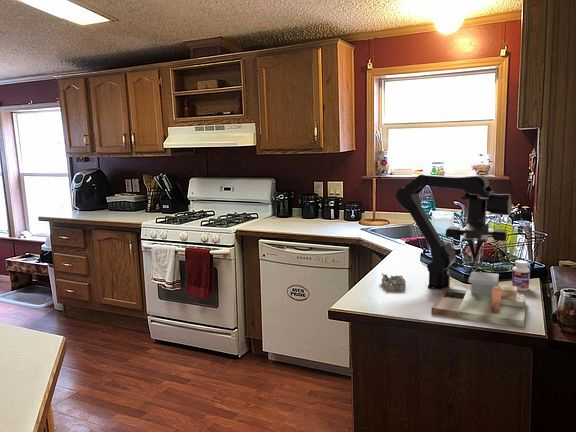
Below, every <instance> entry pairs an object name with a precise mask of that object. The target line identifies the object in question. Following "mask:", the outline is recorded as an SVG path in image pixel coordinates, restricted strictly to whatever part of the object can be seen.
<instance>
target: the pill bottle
mask: <svg viewBox="0 0 576 432" xmlns="http://www.w3.org/2000/svg"><path fill="white" fill-rule="evenodd" d="M514 262H515V263H514V265H515V266H513V267H512V272H511V273H512V274H511V286H514V287H517V291H525V292H526V291H528V290H529V288H530V278H531V277H530V276H531V269H530V268H529V261H528V260H521V259H517V260H515V261H514Z"/></svg>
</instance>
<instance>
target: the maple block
mask: <svg viewBox="0 0 576 432" xmlns="http://www.w3.org/2000/svg"><path fill="white" fill-rule="evenodd" d="M500 287H501V299H509V300H517V297H518V290H517V287H514V286H512V285H505V284H503V285H502V284H501V286H500Z"/></svg>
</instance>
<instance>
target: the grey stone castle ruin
mask: <svg viewBox="0 0 576 432" xmlns="http://www.w3.org/2000/svg"><path fill="white" fill-rule="evenodd" d="M381 275H382V278H381V284H382V285H383V287H384V288H385V290H386V291H390V292H394V291H400V292H401V291H405V290H406V286H407V285H406V282H407V281H406V280H405V278H404V276H403V275H391V276H388V274H384V272H381Z"/></svg>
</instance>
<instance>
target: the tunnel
mask: <svg viewBox="0 0 576 432" xmlns="http://www.w3.org/2000/svg"><path fill="white" fill-rule="evenodd" d="M499 277H500V274H499V273H491V272H490V273H489V272H484V271H483V272H481V271H471V272H470V276H469V277H468V283H469V284H470V291H471V293H472V294H480V295H488V296H492V287H494V286H496V287H499V282H500V281H499Z"/></svg>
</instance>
